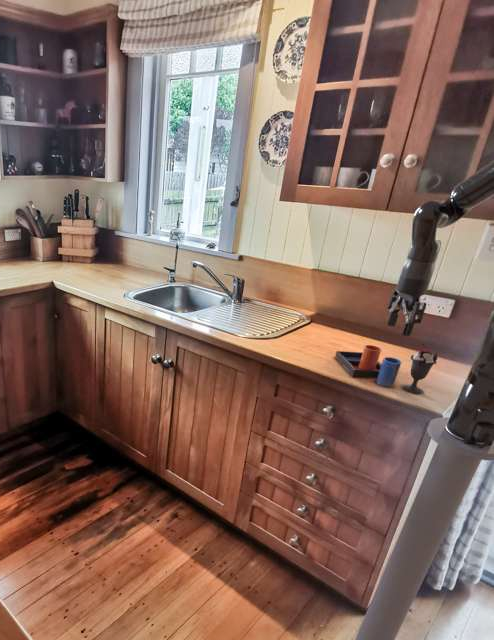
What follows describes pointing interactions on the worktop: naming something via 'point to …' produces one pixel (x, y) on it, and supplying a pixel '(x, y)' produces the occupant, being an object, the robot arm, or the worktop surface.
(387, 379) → the blue cup
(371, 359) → the terracotta cup
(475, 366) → the robot arm
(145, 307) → the worktop surface
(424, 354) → the sundae
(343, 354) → the tray
